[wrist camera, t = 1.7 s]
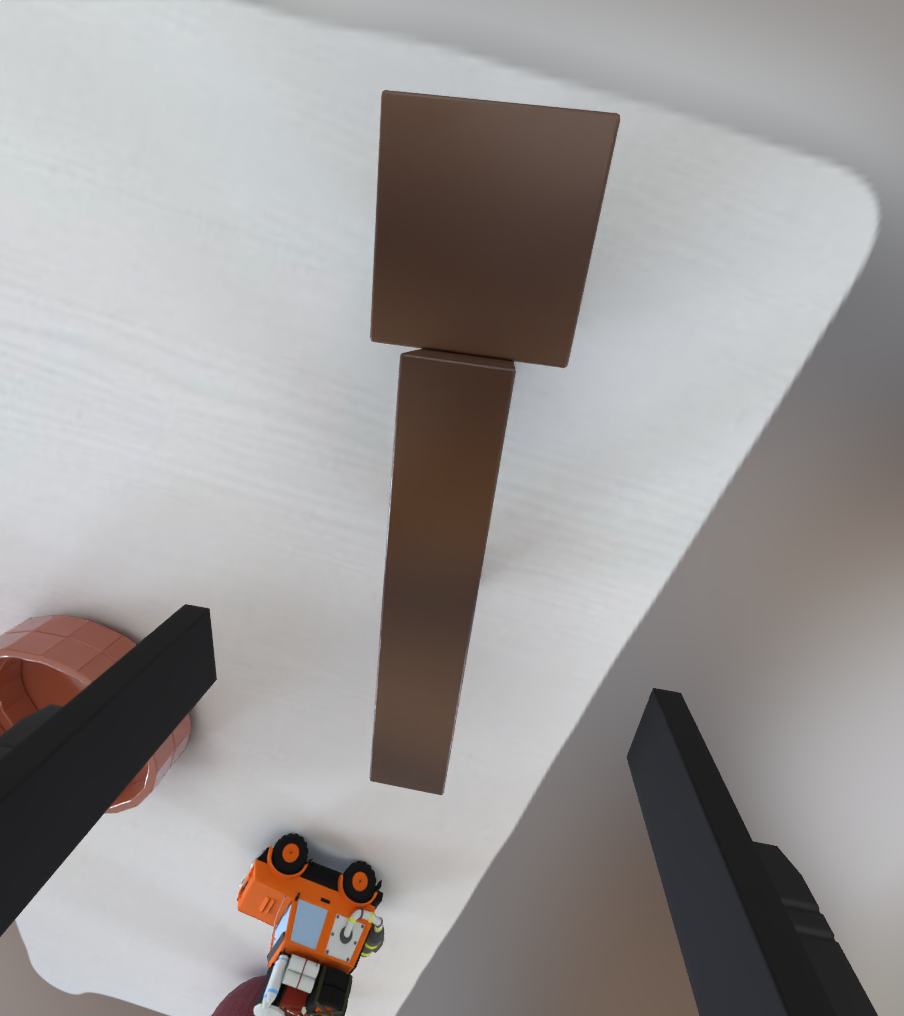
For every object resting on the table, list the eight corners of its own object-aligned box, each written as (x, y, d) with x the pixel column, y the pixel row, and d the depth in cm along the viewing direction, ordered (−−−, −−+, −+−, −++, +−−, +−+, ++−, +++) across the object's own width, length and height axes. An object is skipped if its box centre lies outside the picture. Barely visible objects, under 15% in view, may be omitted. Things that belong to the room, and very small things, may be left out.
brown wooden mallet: (494, 591, 25) (483, 804, 14) (408, 576, 25) (329, 773, 14) (564, 222, 18) (656, 47, 7) (444, 208, 18) (345, 20, 7)
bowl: (-15, 593, 30) (-89, 630, 26) (184, 630, 29) (137, 674, 25) (36, 742, 35) (-19, 791, 32) (205, 777, 34) (168, 831, 31)
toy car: (379, 914, 39) (344, 1070, 30) (250, 863, 38) (180, 1009, 30) (406, 873, 36) (377, 1033, 28) (269, 818, 35) (198, 965, 27)
